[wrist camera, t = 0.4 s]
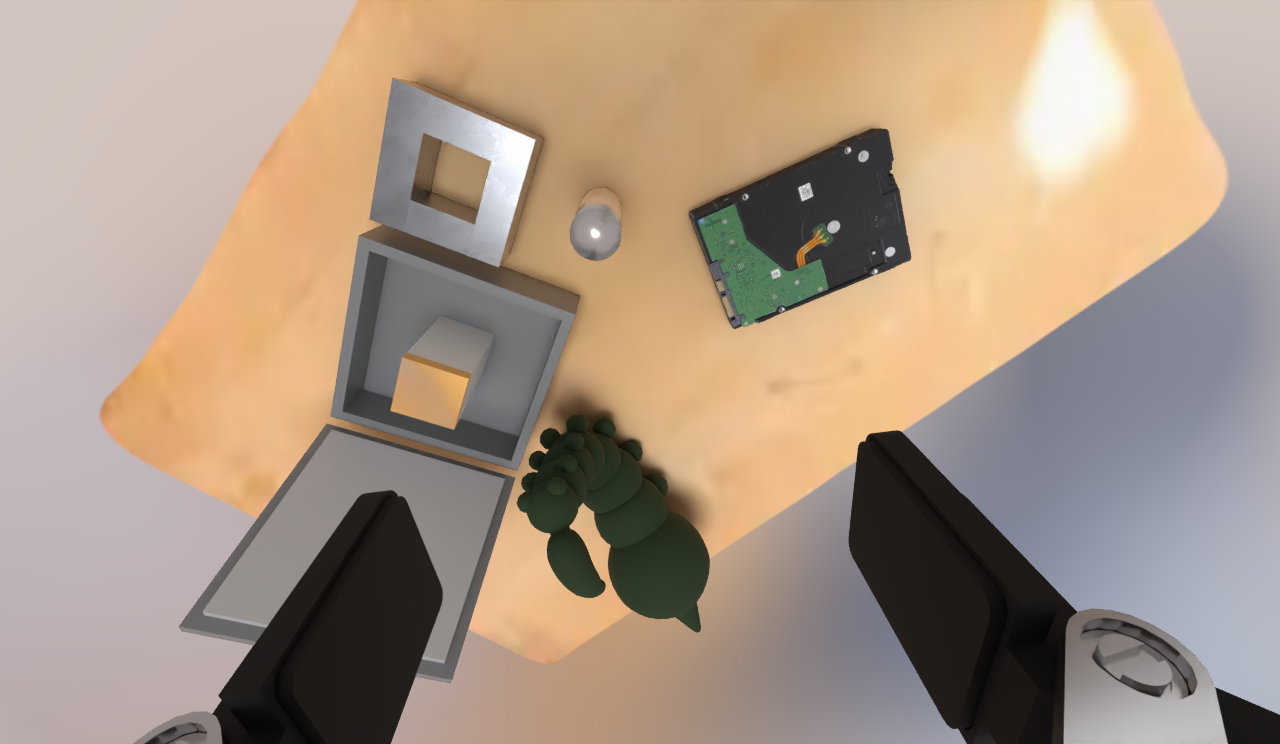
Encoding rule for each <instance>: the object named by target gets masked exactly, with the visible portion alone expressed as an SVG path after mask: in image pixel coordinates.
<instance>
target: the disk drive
mask: <svg viewBox="0 0 1280 744" xmlns="http://www.w3.org/2000/svg"><path fill="white" fill-rule="evenodd" d="M893 160H894V158H893V153H892V148H891V142H890V137H889V131H888V130H887V129H870V130H868V131H866V132H864V133H862V134H860V135H858V136H853V137H851V138H849V139H847V140H844V141H842V142H840V143H838V144H837V145H836V146H834V147H831V148H829V149H827V150H825V151H823V152H821V153H819V154H816V155H814V156H812V157H810V158H807V159H805V160H803V161H801V162H799V163H796V164H794V165H792V166H790V167H788V168H786V169H783V170H781V171H779V172H777V173H775V174H772V175H770V176H767V177H766V178H764V179H762V180H759V181H757V182H755V183H753V184H751V185H748V186H746V187H744V188H742V189H739V190H737V191H735V192H733V193H731V194H728V195H724V196H721V197H720V198H717V199H715V200H713V201H712V202H710V203H708V204H706V205H704V206H702V207H699V208H697V209H695V210H693V211H691V212H689V217H690V219H691V222H692V225H693V227H694V230H695V232H696V235H697V238H698V240H699V243H700V246H701V248H702V251H703V254H704V256H705V259H706V262H707V264H708V266H709V269H710V271H711V274H712V278H713V280H714V283H715V286H716V288H717V291H718V293H719V296H720V298H721V301H722V304H723V306H724V309H725V312H726V314H727V317H728V320H729V322H730V324H731V326H732V328H734V329H736V328H738V327H741V326H743V327H746V326H748V325H751V324H753V323H755V322H756V323H760V322H762V321H765V320H767V319H770V318H772V317H774V316H776V315H779V314H781V313H783V312H785V311H788V310H791V309H793V308H796V307H799V306H801V305H803V304H805V303H808V302H810V301H813V300H815V299H818V298H820V297H823V296H825V295H828V294H830V293H832V292H834V291H837V290H840V289H842V288H845V287H847V286H849V285H852V284H854V283H856V282H859V281H862V280H864V279H867V278H869V277H871V276H874V275H877V274H879V273H882V272H885V271H887V270H890V269H892V268H894V267H896V266H898V265H900V264H902V263H905V262H907V261H910V260H911V252H910V247H909V243H908V236H907V234H906V226H905V221H904V215H903V209H902V204H901V197H900V191H899V188H898V186H897V184H896V182H895V179H894V177H893V174H891V173H890V172H889V171H890V170H892V161H893Z"/></svg>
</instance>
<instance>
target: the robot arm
mask: <svg viewBox="0 0 1280 744" xmlns="http://www.w3.org/2000/svg"><path fill="white" fill-rule="evenodd" d="M849 547H850V551H851V554H852V557H853V559H854V560H855V562H856V564H857V566H858V568H859V569H860V571H861V573H862V575H863V576H864V578H865V580H866V582H867V584H868V586H869V587H870V589H871V591H872V593H873V595H874V596H875V598H876V600H877V602H878V603H879V605H880V607H881V609H882V611H883V612H884V614H885V616H886V618H887V620H888V621H889V623H890V625H891V627H892V628H893V630H894V632H895V634H896V636H897V637H898V639H899V641H900V643H901V645H902V646H903V648H904V650H905V652H906V654H907V655H908V657H909V659H910V661H911V662H912V664H913V666H914V668H915V669H916V671H917V673H918V675H919V677H920V679H921V680H922V682H923V684H924V686H925V687H926V689H927V691H928V693H929V695H930V696H931V698H932V700H933V702H934V704H935V705H936V707H937V709H938V711H939V713H940V714H941V716H942V718H943V719H944V721H945V722H946V723H947V725H948V726H949V727H951V728H952V729H957V728H958V729H959V730H960V732H961V734H962V736H963V737H964V739H965V741H966V743H967V744H1280V715H1279V714H1276V713H1274V712H1272V711H1269V710H1267V709H1265V708H1262V707H1260V706H1257V705H1255V704H1253V703H1251V702H1248V701H1246V700H1244V699H1241V698H1239V697H1237V696H1234V695H1232V694H1230V693H1227V692H1225V691H1223V690H1220V689H1218V688H1216V687H1215V686H1214V684H1213V681H1212V679H1211V677H1210V675H1209V672H1208V670H1207V669H1206V668H1205V667H1204V666H1203V664H1202V663H1201V662H1200V661H1199V659H1198V658H1197V657H1196V656H1195V655H1194V654H1193V653H1192V652H1191V651H1190V650H1188V649H1187V648H1186V647H1185V646H1184V645H1183V644H1181V643H1180V642H1179V641H1178V640H1177V639H1175V638H1174V637H1172V636H1171V635H1169V634H1167V633H1166V632H1164V631H1162V630H1161V629H1159V628H1157V627H1156V626H1154V625H1152V624H1150V623H1148V622H1145V621H1143V620H1141V619H1138V618H1136V617H1134V616H1131V615H1128V614H1123V613H1120V612H1116V611H1112V610H1104V609H1089V610H1084V611H1079V612H1077V611H1076V610H1075V609H1074V608H1073V607H1072V606H1071V605H1070V604H1069V603H1068V602H1067V601H1066V600H1065V599H1064V598H1063V597H1062V596H1061V595H1060V594H1059V593H1058V592H1057V591H1056V590H1055V588H1053V586H1051V584H1050V583H1049V582H1048V581H1047V580H1046V579H1045V578H1044V577H1043V576H1042V575H1041V574H1040V573H1039V572H1038V571H1037V570H1036V569H1035V568H1034V567H1033V566H1032V565H1031V564H1030V563H1029V562H1028V560H1027V559H1026V558H1025V557H1024V556H1023V555H1022V554H1021V553H1020V552H1019V551H1018V550H1017V549H1016V548H1015V547H1014V546H1013V545H1012V544H1011V543H1010V542H1009V541H1008V540H1007V539H1006V538H1005V537H1004V536H1003V535H1002V533H1001V532H1000V531H999V530H998V529H997V528H996V527H995V526H994V525H993V524H992V523H991V522H990V521H989V520H988V519H987V518H986V517H985V516H984V515H983V514H982V513H981V512H980V511H979V510H978V509H977V508H976V507H975V505H974V504H973V503H972V502H971V501H970V500H969V499H968V498H966V497H965V496H964V495H963V494H961V493H960V492H959V491H958V490H957V489H956V488H955V487H954V486H953V485H952V484H951V483H950V481H949V480H948V479H947V478H946V477H945V476H944V475H943V474H942V473H941V472H940V471H939V470H938V469H937V468H936V467H935V466H934V465H933V464H932V463H931V462H930V461H929V460H928V459H927V457H926V456H925V455H924V454H923V453H922V452H921V451H920V450H919V449H918V448H917V447H916V446H915V445H914V444H913V443H912V442H911V441H910V440H909V439H908V438H907V437H906V436H905V435H904V434H903V433H902V432H901V431H888V432H880V433H871V434H869V435H868V436H867V438H866V441H865V442H861V443H860V444H859V446H858V453H857V462H856V473H855V482H854V491H853V501H852V510H851V520H850V530H849ZM442 600H443V589H442V586H441V583H440V581H439V578H438V576H437V573H436V571H435V568H434V566H433V564H432V561H431V559H430V556H429V554H428V551H427V549H426V546H425V544H424V542H423V539H422V537H421V534H420V532H419V529H418V527H417V525H416V522H415V520H414V517H413V515H412V512H411V510H410V507H409V505H408V503H407V501H406V499H405V498H404V497H403V496H398V495H397V493H396V492H395V491H392V490H387V491H379V492H370V493H364V494H361V495H360V496H359V497H358V498H357V500H356V501H355V502H354V504H353V505H352V507H351V508H350V509H349V511H348V512H347V514H346V515H345V517H344V518H343V519H342V521H341V522H340V524H339V525H338V526H337V528H336V529H335V531H334V532H333V534H332V535H331V536H330V538H329V539H328V541H327V542H326V544H325V545H324V546H323V548H322V549H321V551H320V552H319V553H318V555H317V556H316V558H315V559H314V561H313V562H312V563H311V565H310V566H309V568H308V569H307V570H306V572H305V573H304V575H303V576H302V578H301V579H300V580H299V582H298V583H297V585H296V586H295V588H294V589H293V590H292V592H291V593H290V595H289V596H288V597H287V599H286V600H285V602H284V603H283V605H282V606H281V607H280V609H279V610H278V612H277V613H276V614H275V616H274V617H273V619H272V620H271V622H270V623H269V624H268V626H267V627H266V629H265V630H264V632H263V633H262V634H261V636H260V637H259V639H258V640H257V641H256V643H255V644H254V646H253V647H252V649H251V650H250V651H249V653H248V654H247V656H246V657H245V659H244V660H243V661H242V663H241V664H240V666H239V667H238V668H237V670H236V671H235V673H234V674H233V676H232V677H231V678H230V680H229V681H228V683H227V684H226V685H225V687H224V688H223V690H222V691H221V693H220V694H219V697H220V698H221V700H222V701H221V702H220V704H219V705H218V707H217V708H216V709H215V711H214V713H213V714H210V713H208V712H191V713H188V714H185V715H181V716H178V717H175V718H173V719H171V720H169V721H167V722H165V723H163V724H162V725H160V726H158V727H156V728H155V729H153V730H152V731H150V732H149V733H147V734H146V735H144V736H143V737H142V738H140V739H139V740H137V741H136V742H135V743H134V744H391V742H392V739H393V736H394V733H395V731H396V727H397V725H398V722H399V720H400V717H401V714H402V711H403V709H404V706H405V703H406V700H407V698H408V695H409V692H410V690H411V687H412V684H413V682H414V679H415V676H416V673H417V671H418V668H419V665H420V663H421V660H422V657H423V654H424V652H425V649H426V646H427V643H428V641H429V638H430V635H431V633H432V630H433V627H434V624H435V622H436V619H437V616H438V614H439V611H440V608H441V605H442Z"/></svg>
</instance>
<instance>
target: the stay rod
mask: <svg viewBox="0 0 1280 744" xmlns="http://www.w3.org/2000/svg"><path fill="white" fill-rule="evenodd" d="M570 240H571V243H572V245H573V247H574V249H575V250H576V251H577V252H578V253H579V254H580V255H581V256H582V257H584V258H586V259H589V260H595V261H598V260H604V259H606V258H608V257H610V256H611V255H613V254H614V253H615V251H616V250H617V249H618V247H619V245H620V241H621V205H620V201H619V199H618V197H617V196H616V194H615V193H614V192H612V191H611V190H609V189H607V188H601V187H600V188H594V189H592V190H590V191H589V192H588V193H587V194H586V195H585V197H584V198H583V201H582V203H581V205H580V207H579V209H578V211H577V214H576V216H575V218H574V220H573V222H572V225H571V228H570Z"/></svg>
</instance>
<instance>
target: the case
mask: <svg viewBox="0 0 1280 744" xmlns="http://www.w3.org/2000/svg"><path fill="white" fill-rule="evenodd" d="M579 298H580V296H579V295H577V294H574V293H571V292H569V291H566V290H563V289H561V288H558V287H555V286H553V285H550V284H547V283H545V282H542V281H539V280H537V279H534V278H531V277H529V276H526V275H523V274H521V273H518V272H515V271H513V270H510V269H507V268H505V267H502V266H500V267H496V266H494V265H491V264H488V263H485V262H483V261H480V260H477V259H475V258H472V257H469V256H467V255H464V254H461V253H459V252H456V251H453V250H451V249H448V248H445V247H443V246H440V245H437V244H435V243H432V242H429V241H427V240H424V239H421V238H419V237H416V236H413V235H411V234H408V233H405V232H402V231H400V230H397V229H394V228H392V227H389V226H386V225H382V226H379V227H377V228H375V229H373V230H370V231H368V232H366V233H364V234H361V235H359V238H358V244H357V251H356V257H355V264H354V270H353V277H352V283H351V289H350V296H349V302H348V309H347V315H346V321H345V328H344V334H343V341H342V347H341V353H340V360H339V366H338V373H337V379H336V386H335V392H334V398H333V405H332V411H331V417H335V418H338V419H341V420H345V421H348V422H352V423H355V424H359V425H362V426H366V427H369V428H372V429H376V430H379V431H383V432H386V433H390V434H393V435H397V436H400V437H403V438H407V439H410V440H414V441H417V442H421V443H424V444H428V445H431V446H434V447H438V448H441V449H445V450H448V451H452V452H455V453H459V454H462V455H466V456H469V457H472V458H476V459H479V460H483V461H486V462H490V463H493V464H497V465H500V466H503V467H507V468H510V469H514V470H517V471H518V468H519V466H520V463H521V460H522V457H523V455H524V452H525V449H526V447H527V444H528V441H529V439H530V436H531V433H532V431H533V428H534V425H535V423H536V420H537V417H538V415H539V412H540V409H541V407H542V404H543V401H544V399H545V396H546V393H547V390H548V388H549V385H550V382H551V380H552V377H553V374H554V372H555V369H556V366H557V364H558V361H559V358H560V356H561V353H562V350H563V348H564V345H565V342H566V340H567V337H568V334H569V332H570V329H571V326H572V323H573V321H574V318H575V315H576V311H577V307H578V303H579ZM440 316H443V317H446V318H449V319H452V320H454V321H457V322H460V323H463V324H466V325H469V326H472V327H475V328H478V329H481V330H483V331H486V332H489V333H492V334H495V335H494V338H493V342H492V345H491V348H490V352H489V355H488V358H487V361H486V365H485V368H484V371H483V375H482V378H481V380H480V382H479V384H478V386H477V388H476V389H475V391H474V393H473V395H472V397H471V399H470V401H469V402H468V404H467V406H466V408H465V410H464V412H463V414H462V416H461V417H460V419H459V421H458V423H457V425H456V427H455V429H454V430H453V429H450V428H446V427H443V426H440V425H436V424H433V423H430V422H426V421H423V420H420V419H416V418H413V417H410V416H406V415H403V414H400V413H396V412H393V411H391V406H392V402H393V397H394V393H395V388H396V383H397V379H398V374H399V370H400V365H401V360H402V357H403V356H404V355H405V354H406V353H407V352H408V351H409V350H410V349H411V348H412V346H413V345H414V344H415V343H416V342H417V341H418V340H419V339H420V338H421V337H422V336H423V334H424V333H425V332H426V331H427V330H428V329H429V328H430V327H431V326H432V325H433V324H434V322H435V321H436V320H437V319H438V318H439V317H440Z"/></svg>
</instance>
